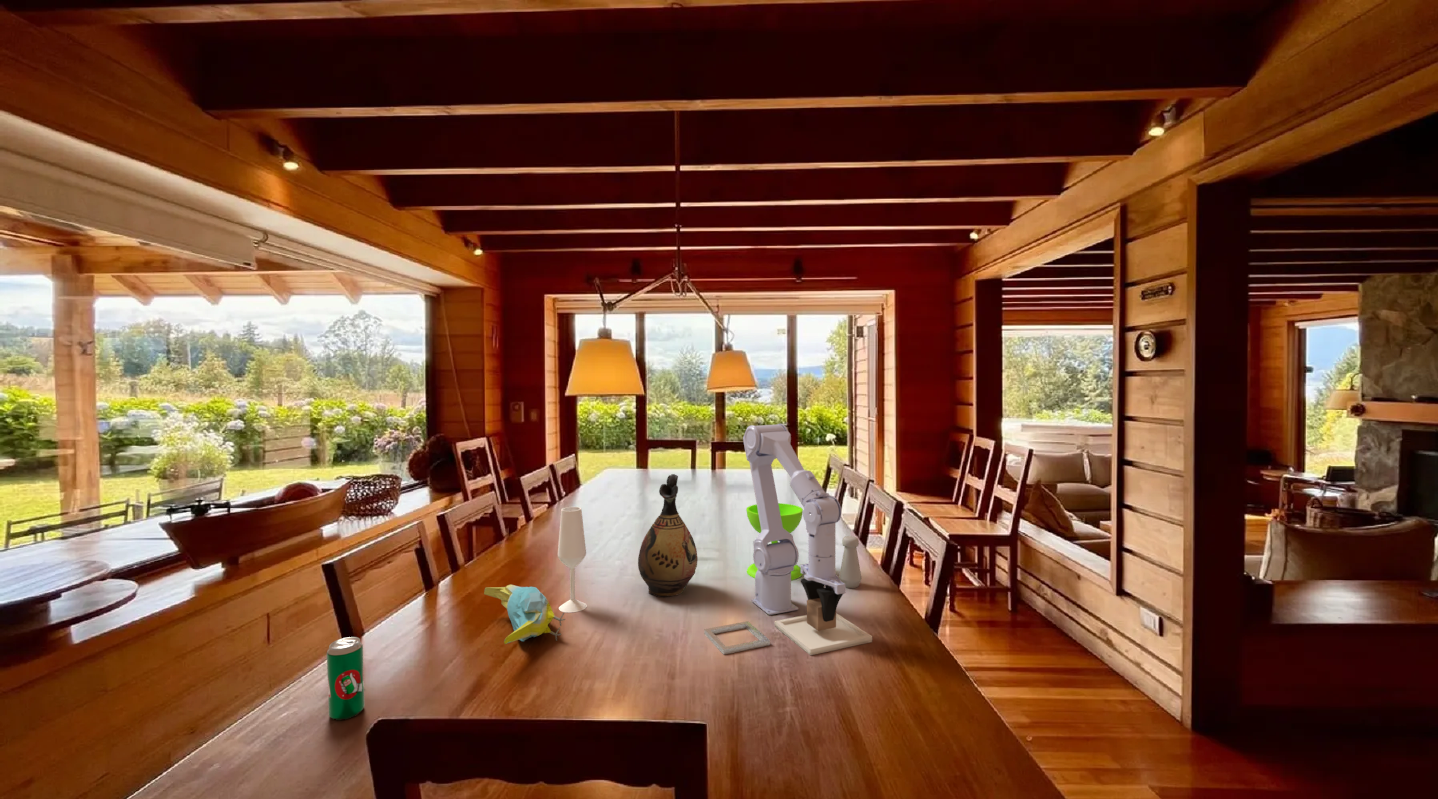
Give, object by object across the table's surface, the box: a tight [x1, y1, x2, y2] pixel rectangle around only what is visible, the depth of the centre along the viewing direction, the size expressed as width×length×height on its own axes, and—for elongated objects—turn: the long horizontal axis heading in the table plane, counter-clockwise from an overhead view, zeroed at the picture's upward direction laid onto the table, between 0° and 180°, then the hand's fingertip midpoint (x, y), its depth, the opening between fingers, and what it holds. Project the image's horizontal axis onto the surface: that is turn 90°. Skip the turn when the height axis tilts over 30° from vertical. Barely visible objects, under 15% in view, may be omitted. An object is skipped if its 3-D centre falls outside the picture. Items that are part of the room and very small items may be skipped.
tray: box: [774, 612, 873, 656], centre depth 128 cm, size 15×15×1 cm
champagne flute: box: [557, 506, 588, 614], centre depth 143 cm, size 7×7×24 cm
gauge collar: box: [703, 620, 771, 655], centre depth 125 cm, size 10×10×1 cm
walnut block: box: [806, 598, 837, 631], centre depth 128 cm, size 4×4×5 cm
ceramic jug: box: [637, 473, 698, 598], centre depth 155 cm, size 17×15×30 cm
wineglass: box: [745, 502, 804, 581], centre depth 168 cm, size 16×16×18 cm
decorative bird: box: [483, 583, 566, 645], centre depth 128 cm, size 14×30×9 cm, turn 28°
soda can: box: [326, 636, 366, 721], centre depth 98 cm, size 5×5×12 cm
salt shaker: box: [838, 535, 862, 589], centre depth 157 cm, size 6×6×13 cm
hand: (821, 615), depth 128 cm, fingers closed on walnut block, 4 cm apart
